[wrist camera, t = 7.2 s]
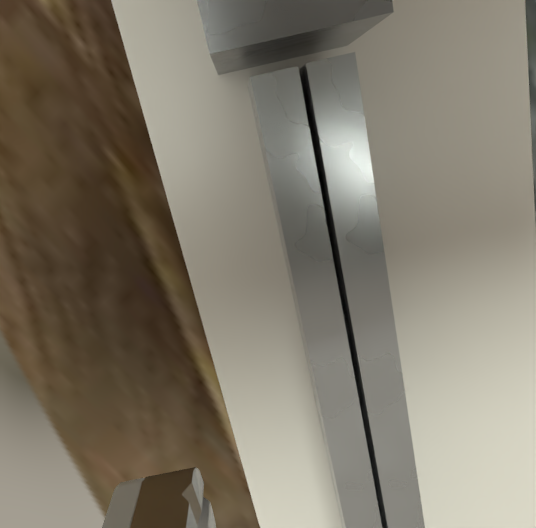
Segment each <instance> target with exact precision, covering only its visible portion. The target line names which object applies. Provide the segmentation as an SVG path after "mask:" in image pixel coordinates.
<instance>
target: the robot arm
mask: <svg viewBox="0 0 536 528" xmlns="http://www.w3.org/2000/svg"><path fill="white" fill-rule="evenodd" d="M203 487H204V482H203V480H202V477H201V474H200V471H199V469H197V468H196V467H194V468H189V469H184V470H179V471H174V472H169V473H164V474H159V475H153V476H148V477H146V478H140V479H135V480H130V481H126V482H121V483H120V484H119V485H118V486H117V487H116V488H115V490H114V493H113V496H112V499H111V502H110V505H109V508H108V511H107V514H106V517H105V520H104V523H103V527H102V528H216V525H215V520H214V515H213V510H212V507H211V504H210V501H208V500H207V499H205V498H204V497H203Z"/></svg>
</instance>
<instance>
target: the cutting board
mask: <svg viewBox="0 0 536 528" xmlns="http://www.w3.org/2000/svg"><path fill="white" fill-rule="evenodd" d="M111 1H112V5H113V8H114V12H115V15H116V19H117V22H118V26H119V30H120V33H121V37H122V40H123V44H124V47H125V51H126V54H127V58H128V61H129V65H130V69H131V72H132V76H133V79H134V83H135V86H136V90H137V93H138V97H139V100H140V104H141V107H142V111H143V115H144V118H145V122H146V125H147V129H148V132H149V136H150V139H151V143H152V146H153V150H154V154H155V157H156V161H157V164H158V168H159V171H160V175H161V178H162V182H163V185H164V189H165V192H166V196H167V200H168V203H169V207H170V210H171V214H172V217H173V221H174V224H175V228H176V231H177V235H178V239H179V242H180V246H181V249H182V253H183V256H184V260H185V263H186V267H187V270H188V274H189V277H190V281H191V285H192V288H193V292H194V295H195V299H196V302H197V306H198V309H199V313H200V316H201V320H202V324H203V327H204V331H205V334H206V338H207V341H208V345H209V348H210V352H211V355H212V359H213V363H214V366H215V370H216V373H217V377H218V380H219V384H220V387H221V391H222V394H223V398H224V401H225V405H226V409H227V412H228V416H229V419H230V423H231V426H232V430H233V433H234V437H235V440H236V444H237V448H238V451H239V455H240V458H241V462H242V465H243V469H244V472H245V476H246V479H247V483H248V486H249V490H250V494H251V497H252V501H253V504H254V508H255V511H256V515H257V518H258V522H259V525H260V528H342V523H341V518H340V514H339V509H338V504H337V500H336V495H335V490H334V486H333V481H332V476H331V472H330V467H329V462H328V458H327V453H326V448H325V444H324V439H323V435H322V430H321V425H320V421H319V416H318V411H317V407H316V402H315V397H314V393H313V388H312V383H311V379H310V374H309V369H308V365H307V360H306V356H305V351H304V346H303V342H302V337H301V332H300V328H299V323H298V318H297V314H296V309H295V304H294V300H293V295H292V290H291V286H290V281H289V276H288V272H287V267H286V263H285V258H284V253H283V249H282V244H281V239H280V235H279V230H278V225H277V221H276V216H275V211H274V207H273V202H272V197H271V193H270V188H269V183H268V179H267V174H266V170H265V165H264V160H263V156H262V151H261V146H260V142H259V137H258V132H257V128H256V123H255V118H254V114H253V109H252V104H251V100H250V95H249V90H248V83H249V79H250V77H252V76H256V75H261V74H265V73H270V72H274V71H278V70H283V69H287V68H292V67H296V66H298V69H300V68H301V67H302V66H303V65H304V64H305V63H308V62H313V61H317V60H322V59H326V58H330V57H335V56H339V55H344V54H348V53H352V52H355V55H356V62H357V69H358V76H359V82H360V89H361V96H362V103H363V110H364V116H365V123H366V130H367V137H368V144H369V150H370V157H371V164H372V171H373V178H374V184H375V191H376V198H377V205H378V212H379V218H380V225H381V232H382V239H383V246H384V252H385V259H386V266H387V273H388V280H389V287H390V293H391V300H392V307H393V314H394V321H395V327H396V334H397V341H398V348H399V355H400V361H401V368H402V375H403V382H404V389H405V395H406V402H407V409H408V416H409V423H410V429H411V436H412V443H413V450H414V457H415V463H416V470H417V477H418V484H419V491H420V497H421V504H422V511H423V518H424V525H425V528H536V225H535V203H534V181H533V160H532V138H531V116H530V95H529V73H528V52H527V30H526V8H525V0H392V3H393V11H394V12H393V13H392V14H390V15H389V16H388V17H386V18H385V19H384V20H382V21H381V22H379V23H378V24H377V25H375V26H374V27H373V28H371V29H370V30H368V31H367V32H366V33H364V34H363V35H361V36H360V37H359V38H357V39H356V40H355V41H353V42H352V43H350V44H349V45H348V46H344V47H340V48H335V49H331V50H326V51H322V52H318V53H313V54H309V55H304V56H300V57H296V58H291V59H287V60H283V61H278V62H274V63H269V64H265V65H261V66H256V67H252V68H247V69H243V70H239V71H234V72H230V73H225V74H221V75H218V74H217V71H216V69H215V66H214V64H213V61H212V59H211V57H210V54H209V50H208V46H207V41H206V37H205V33H204V28H203V24H202V20H201V16H200V11H199V7H198V3H197V0H111Z"/></svg>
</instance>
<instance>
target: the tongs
mask: <svg viewBox="0 0 536 528" xmlns="http://www.w3.org/2000/svg"><path fill="white" fill-rule="evenodd" d="M197 3H198V7H199V11H200V16H201V20H202V24H203V28H204V33H205V37H206V41H207V46H208V50H209V54H210V57H211V59H212V61H213V64H214V66H215V69H216V71H217V74H218V75H221V74H225V73H230V72H234V71H239V70H243V69H247V68H252V67H256V66H261V65H265V64H269V63H274V62H278V61H283V60H287V59H291V58H296V57H300V56H304V55H309V54H313V53H318V52H322V51H326V50H331V49H335V48H340V47H344V46H348V45H349V44H350V43H352V42H353V41H355V40H356V39H357V38H359V37H360V36H361V35H363V34H364V33H366V32H367V31H368V30H370V29H371V28H373V27H374V26H375V25H377V24H378V23H379V22H381V21H382V20H384V19H385V18H386V17H388V16H389V15H390V14H392V13H393V12H394V11H393V3H392V0H197ZM248 90H249V95H250V100H251V104H252V109H253V114H254V118H255V123H256V128H257V132H258V137H259V142H260V146H261V151H262V156H263V160H264V165H265V170H266V174H267V179H268V183H269V188H270V193H271V197H272V202H273V207H274V211H275V216H276V221H277V225H278V230H279V235H280V239H281V244H282V249H283V253H284V258H285V263H286V267H287V272H288V276H289V281H290V286H291V290H292V295H293V300H294V304H295V309H296V314H297V318H298V323H299V328H300V332H301V337H302V342H303V346H304V351H305V356H306V360H307V365H308V369H309V374H310V379H311V383H312V388H313V393H314V397H315V402H316V407H317V411H318V416H319V421H320V425H321V430H322V435H323V439H324V444H325V448H326V453H327V458H328V462H329V467H330V472H331V476H332V481H333V486H334V490H335V495H336V500H337V504H338V509H339V514H340V518H341V523H342V528H382V523H381V518H380V512H379V507H378V501H377V496H376V490H375V485H374V479H373V474H372V469H371V463H370V458H369V452H368V447H367V441H366V436H365V430H364V425H363V419H362V414H361V408H360V403H359V397H358V392H357V386H356V381H355V375H354V370H353V364H352V359H351V354H350V348H349V343H348V337H347V332H346V326H345V321H344V315H343V310H342V304H341V299H340V293H339V288H338V282H337V277H336V271H335V266H334V260H333V255H332V249H331V244H330V239H329V233H328V228H327V222H326V217H325V211H324V206H323V200H322V195H321V189H320V184H319V178H318V173H317V167H316V162H315V156H314V151H313V145H312V140H311V134H310V129H309V124H308V118H307V113H306V107H305V102H304V96H303V91H302V85H301V80H300V74H299V69H298V66H296V67H292V68H287V69H283V70H278V71H274V72H270V73H265V74H261V75H256V76H252V77H250V79H249V83H248Z"/></svg>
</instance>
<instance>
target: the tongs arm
mask: <svg viewBox="0 0 536 528" xmlns="http://www.w3.org/2000/svg"><path fill="white" fill-rule="evenodd" d="M299 74H300V80H301V85H302V91H303V96H304V102H305V107H306V113H307V118H308V124H309V129H310V134H311V140H312V145H313V151H314V156H315V162H316V167H317V173H318V178H319V184H320V189H321V195H322V200H323V206H324V211H325V217H326V222H327V228H328V233H329V239H330V244H331V249H332V255H333V260H334V266H335V271H336V277H337V282H338V288H339V293H340V299H341V304H342V310H343V315H344V321H345V326H346V332H347V337H348V343H349V348H350V354H351V359H352V364H353V370H354V375H355V381H356V386H357V392H358V397H359V403H360V408H361V414H362V419H363V425H364V430H365V436H366V441H367V447H368V452H369V458H370V463H371V469H372V474H373V479H374V485H375V490H376V496H377V501H378V507H379V512H380V518H381V523H382V528H425V525H424V518H423V511H422V504H421V497H420V491H419V484H418V477H417V470H416V463H415V457H414V450H413V443H412V436H411V429H410V423H409V416H408V409H407V402H406V395H405V389H404V382H403V375H402V368H401V361H400V355H399V348H398V341H397V334H396V327H395V321H394V314H393V307H392V300H391V293H390V287H389V280H388V273H387V266H386V259H385V252H384V246H383V239H382V232H381V225H380V218H379V212H378V205H377V198H376V191H375V184H374V178H373V171H372V164H371V157H370V150H369V144H368V137H367V130H366V123H365V116H364V110H363V103H362V96H361V89H360V82H359V76H358V69H357V62H356V55H355V52H352V53H348V54H344V55H339V56H335V57H330V58H326V59H322V60H317V61H313V62H308V63H305V64H304V65H303V66H302V67H301V68H300V69H299Z"/></svg>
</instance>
